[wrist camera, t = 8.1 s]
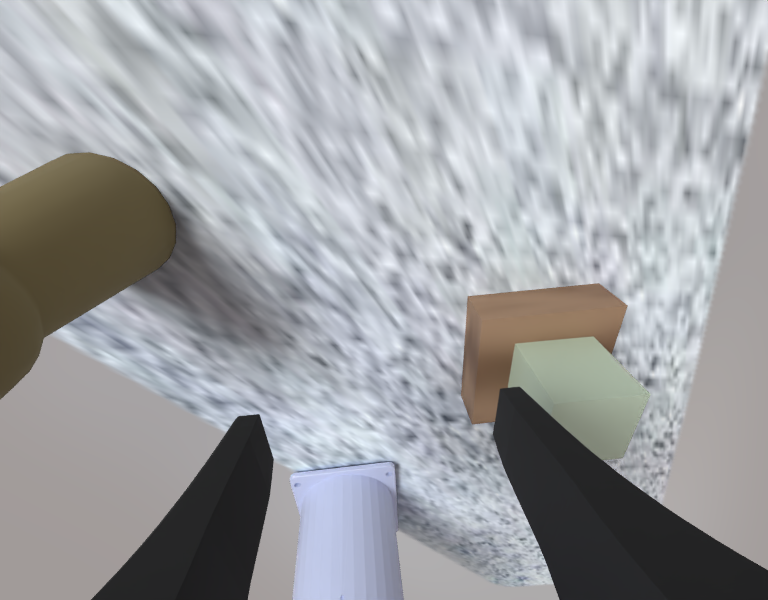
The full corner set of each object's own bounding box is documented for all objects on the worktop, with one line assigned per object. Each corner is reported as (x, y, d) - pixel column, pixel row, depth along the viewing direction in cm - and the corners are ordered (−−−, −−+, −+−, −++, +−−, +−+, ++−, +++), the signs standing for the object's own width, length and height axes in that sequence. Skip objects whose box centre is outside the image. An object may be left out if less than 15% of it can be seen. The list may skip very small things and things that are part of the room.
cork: (142, 297, 20) (-48, 495, 10) (13, 227, 17) (-397, 399, 8) (199, 213, 18) (31, 358, 8) (63, 120, 15) (-403, 173, 6)
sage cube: (576, 394, 23) (622, 457, 19) (505, 401, 23) (537, 466, 19) (593, 336, 20) (650, 394, 17) (514, 343, 20) (554, 403, 16)
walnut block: (568, 378, 26) (592, 410, 24) (459, 390, 26) (472, 424, 23) (594, 280, 22) (627, 305, 20) (465, 292, 22) (482, 320, 19)
